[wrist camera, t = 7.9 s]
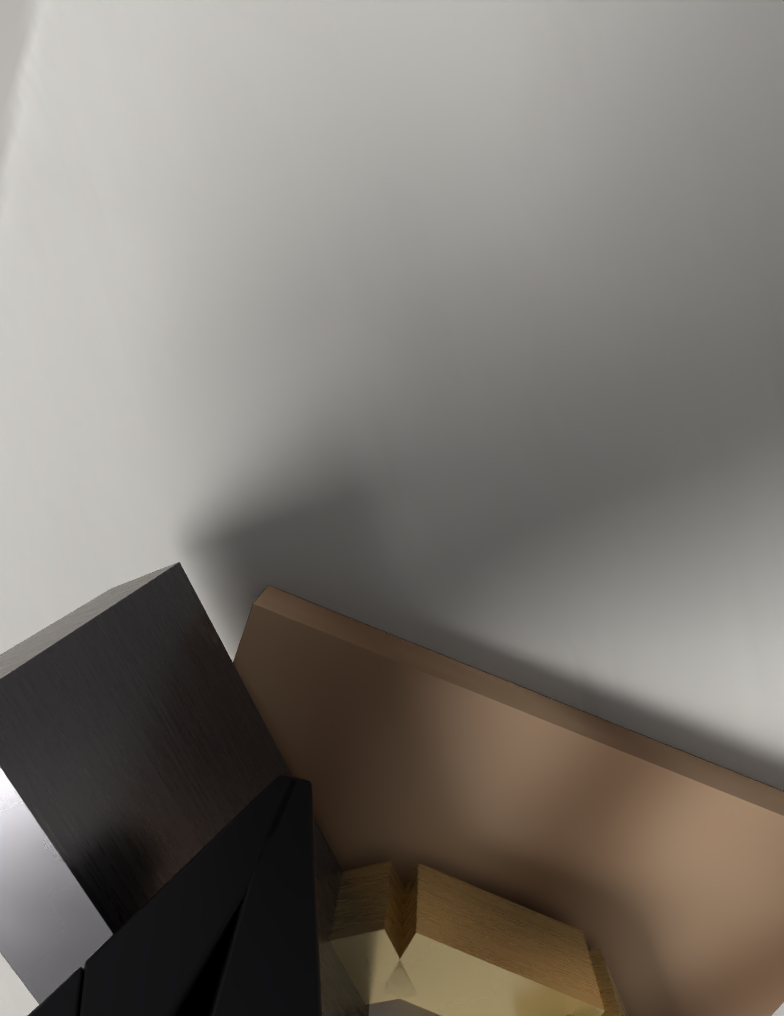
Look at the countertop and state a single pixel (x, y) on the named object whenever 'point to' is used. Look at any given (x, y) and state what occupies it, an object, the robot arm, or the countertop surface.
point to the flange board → (528, 807)
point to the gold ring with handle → (220, 824)
